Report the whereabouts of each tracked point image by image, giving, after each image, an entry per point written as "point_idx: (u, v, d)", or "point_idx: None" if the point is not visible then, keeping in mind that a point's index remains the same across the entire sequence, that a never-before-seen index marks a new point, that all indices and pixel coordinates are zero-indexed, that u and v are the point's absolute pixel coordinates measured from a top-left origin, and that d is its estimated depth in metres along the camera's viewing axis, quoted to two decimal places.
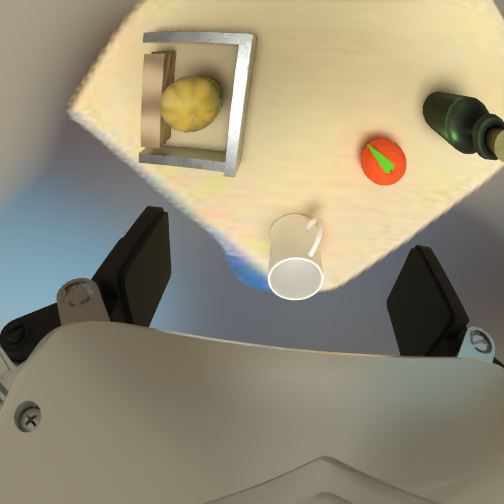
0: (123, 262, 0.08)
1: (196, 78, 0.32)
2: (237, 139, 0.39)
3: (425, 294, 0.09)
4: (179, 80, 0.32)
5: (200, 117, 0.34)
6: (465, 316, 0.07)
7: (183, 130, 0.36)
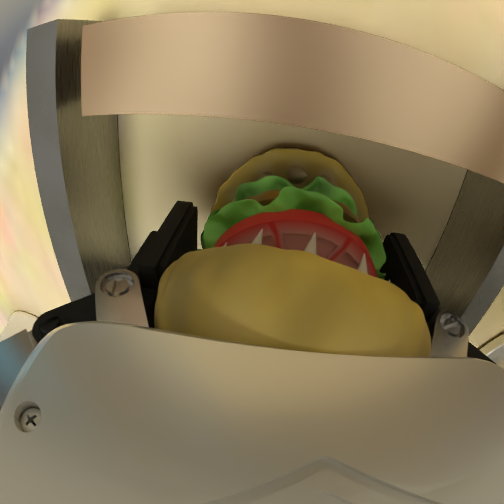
0: (162, 253, 0.08)
1: None
2: None
3: (397, 279, 0.09)
4: None
5: None
6: (436, 299, 0.08)
7: None
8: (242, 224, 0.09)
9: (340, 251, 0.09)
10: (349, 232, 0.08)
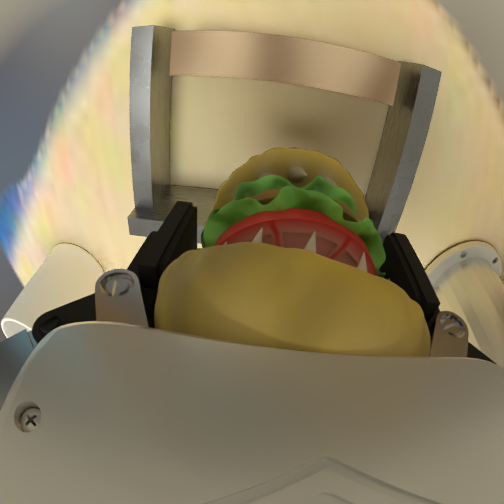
0: (162, 253, 0.08)
1: None
2: (200, 241, 0.22)
3: (397, 279, 0.09)
4: None
5: None
6: (436, 300, 0.08)
7: None
8: (242, 223, 0.09)
9: (340, 250, 0.09)
10: (349, 231, 0.08)
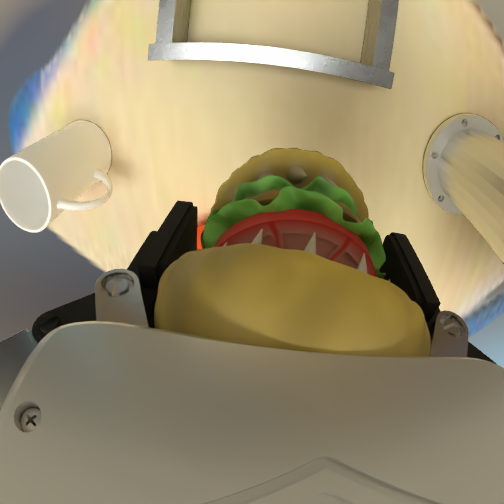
0: (162, 253, 0.08)
1: None
2: (212, 57, 0.20)
3: (397, 279, 0.09)
4: None
5: None
6: (436, 300, 0.08)
7: None
8: (242, 224, 0.09)
9: (340, 251, 0.09)
10: (349, 232, 0.08)
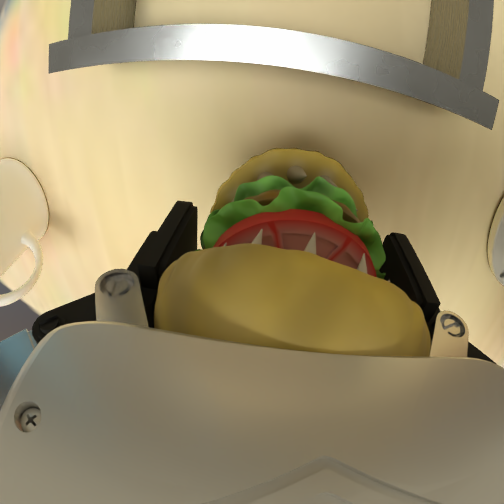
0: (162, 253, 0.08)
1: None
2: (152, 56, 0.10)
3: (397, 279, 0.09)
4: None
5: None
6: (436, 299, 0.08)
7: None
8: (242, 224, 0.09)
9: (340, 251, 0.09)
10: (349, 232, 0.08)
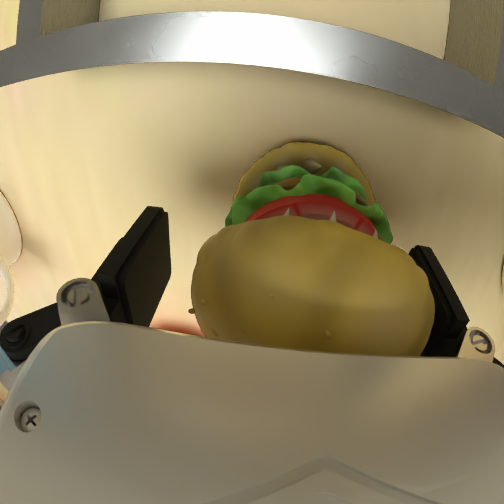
0: (123, 262, 0.08)
1: None
2: (99, 60, 0.07)
3: None
4: (431, 327, 0.07)
5: None
6: (465, 317, 0.07)
7: (198, 314, 0.08)
8: (268, 206, 0.10)
9: None
10: (361, 214, 0.10)
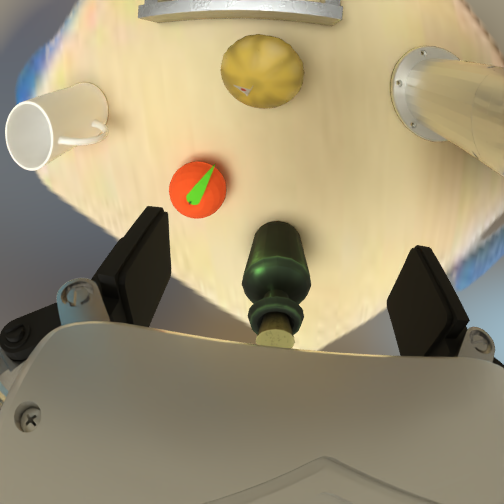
0: (123, 262, 0.08)
1: (301, 83, 0.24)
2: (190, 9, 0.22)
3: (425, 294, 0.09)
4: (300, 62, 0.22)
5: None
6: (465, 316, 0.07)
7: (224, 67, 0.23)
8: None
9: None
10: None
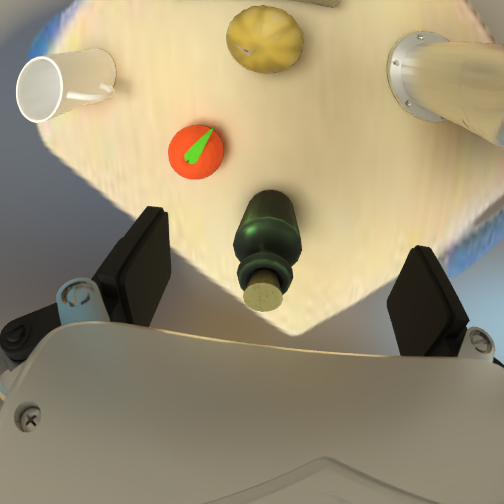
0: (123, 262, 0.08)
1: (300, 51, 0.24)
2: None
3: (425, 294, 0.09)
4: (300, 32, 0.23)
5: (248, 55, 0.24)
6: (465, 316, 0.07)
7: (229, 33, 0.23)
8: None
9: None
10: None
